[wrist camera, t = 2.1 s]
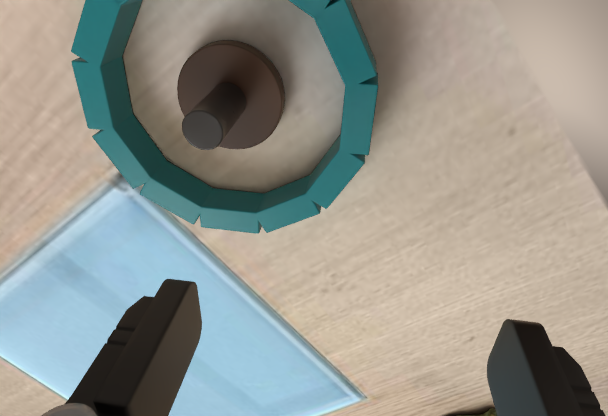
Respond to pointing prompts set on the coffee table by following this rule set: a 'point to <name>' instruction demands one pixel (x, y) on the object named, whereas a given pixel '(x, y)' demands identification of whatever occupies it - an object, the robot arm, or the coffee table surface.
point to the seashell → (486, 413)
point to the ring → (186, 188)
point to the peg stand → (229, 96)
